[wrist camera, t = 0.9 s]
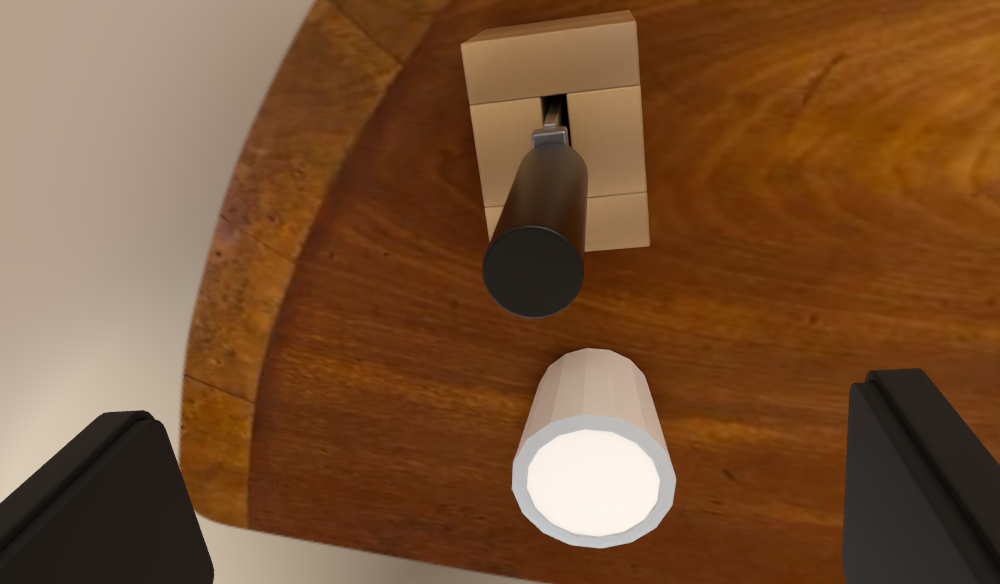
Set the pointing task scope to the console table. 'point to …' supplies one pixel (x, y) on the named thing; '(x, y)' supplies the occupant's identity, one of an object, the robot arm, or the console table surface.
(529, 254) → the knife
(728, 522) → the console table surface
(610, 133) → the knife block
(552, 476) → the white cylinder
